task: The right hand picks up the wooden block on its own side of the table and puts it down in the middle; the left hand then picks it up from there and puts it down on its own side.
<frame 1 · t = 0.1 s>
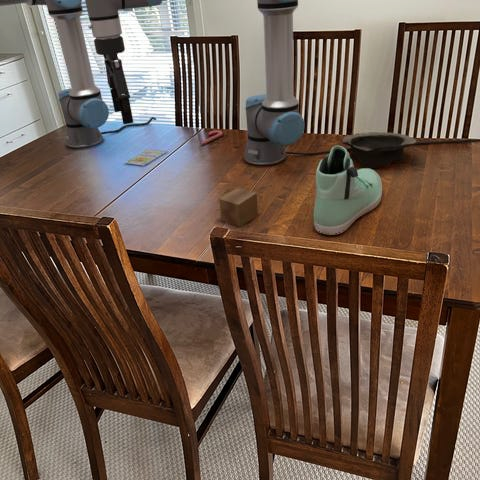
right hand: (123, 117, 136), 28 cm above the table, tool pointing down, fingers open, 13 cm apart
baking ingredient package: (146, 158, 185), on the table
block: (239, 217, 139), on the table
candy cane: (210, 139, 198), on the table
sneaker: (348, 208, 139), on the table
stone bowl: (376, 159, 169), on the table
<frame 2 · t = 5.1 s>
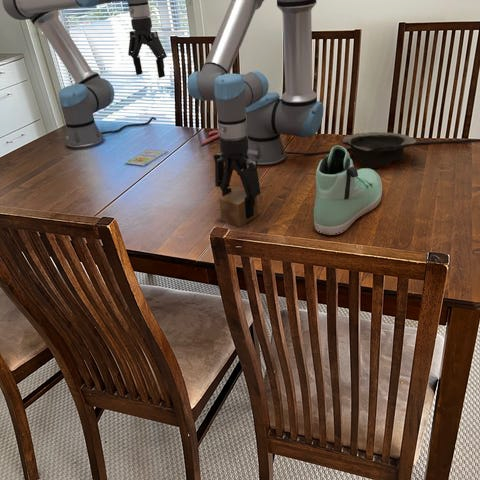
left hand: (150, 75, 192), 26 cm above the table, tool pointing down, fingers open, 13 cm apart
right hand: (239, 213, 138), 2 cm above the table, tool pointing down, fingers closed on block, 7 cm apart
block: (239, 217, 139), on the table, touching right hand
everything else where it was.
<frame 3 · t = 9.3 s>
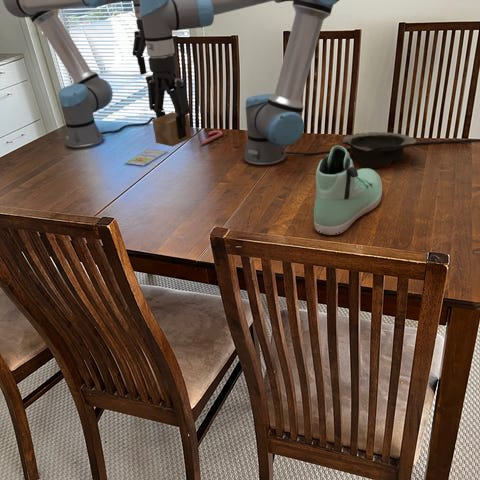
left hand: (154, 75, 193), 25 cm above the table, tool pointing down, fingers open, 13 cm apart
right hand: (173, 135, 145), 20 cm above the table, tool pointing down, fingers closed on block, 7 cm apart
block: (173, 140, 146), point 18 cm above the table, touching right hand
everything else where it was.
when the right hand's fingers open (3 cm above the table, at t = 13.7 s): block drops 2 cm, on the table.
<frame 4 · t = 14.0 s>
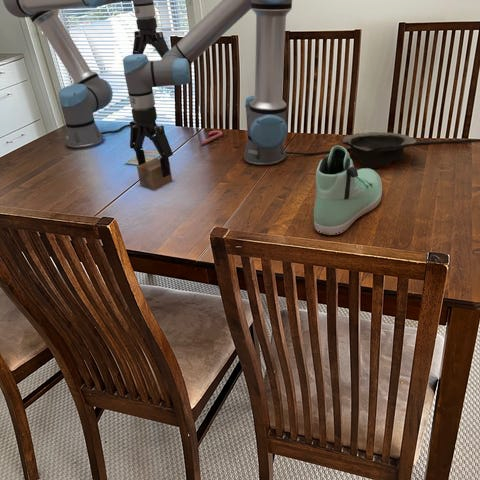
left hand: (154, 75, 193), 25 cm above the table, tool pointing down, fingers open, 13 cm apart
right hand: (154, 172, 162), 4 cm above the table, tool pointing down, fingers open, 11 cm apart
block: (156, 183, 164), on the table
everything else where it was.
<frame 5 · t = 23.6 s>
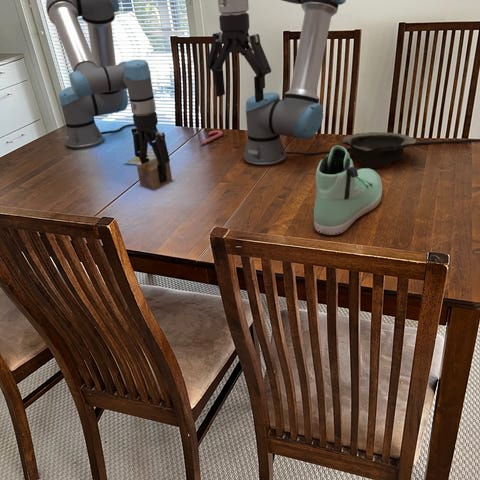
left hand: (155, 179, 163), 2 cm above the table, tool pointing down, fingers closed on block, 7 cm apart
right hand: (239, 98, 131), 31 cm above the table, tool pointing down, fingers open, 13 cm apart
block: (156, 183, 164), on the table, touching left hand
everything else where it was.
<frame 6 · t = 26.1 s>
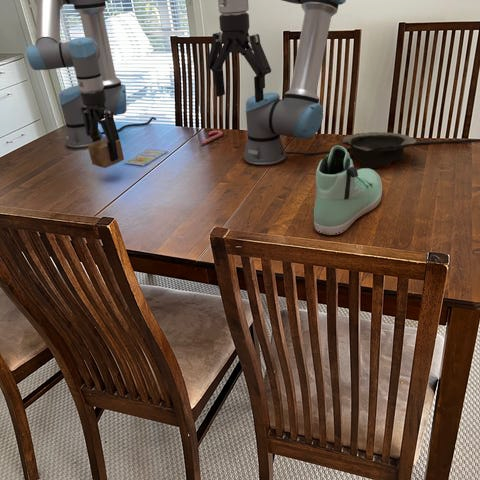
left hand: (107, 157, 165), 8 cm above the table, tool pointing down, fingers closed on block, 7 cm apart
right hand: (239, 98, 131), 31 cm above the table, tool pointing down, fingers open, 13 cm apart
block: (108, 162, 166), point 7 cm above the table, touching left hand
everything else where it was.
when the left hand's fingers open (3 cm above the table, at t = 29.1 s): block drops 2 cm, on the table.
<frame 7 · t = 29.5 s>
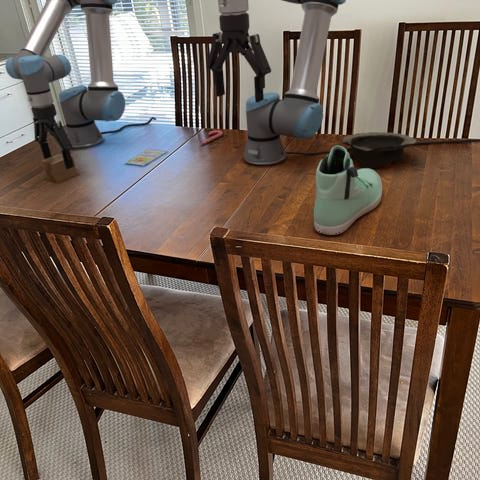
left hand: (59, 164, 172), 5 cm above the table, tool pointing down, fingers open, 13 cm apart
right hand: (239, 98, 131), 31 cm above the table, tool pointing down, fingers open, 13 cm apart
block: (62, 176, 175), on the table
everything else where it was.
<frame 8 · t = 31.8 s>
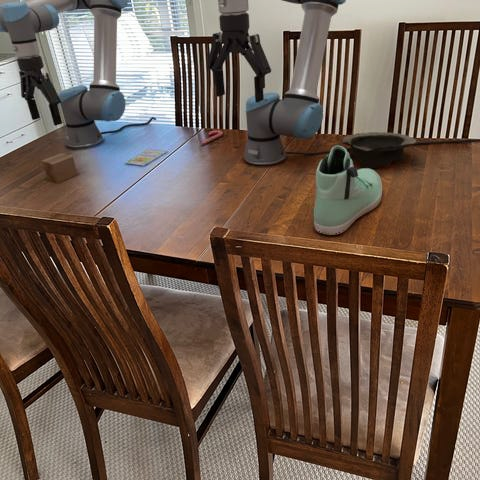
left hand: (47, 121, 164), 20 cm above the table, tool pointing down, fingers open, 13 cm apart
right hand: (239, 98, 131), 31 cm above the table, tool pointing down, fingers open, 13 cm apart
nothing on the table moved.
at the end: block inside the target area (0.1 cm from its centre), on the table; block tilted 0°; the two hands never held the block at the same time; the left hand is holding nothing; the right hand is holding nothing; block at rest at the end (0.0 cm/s) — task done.
